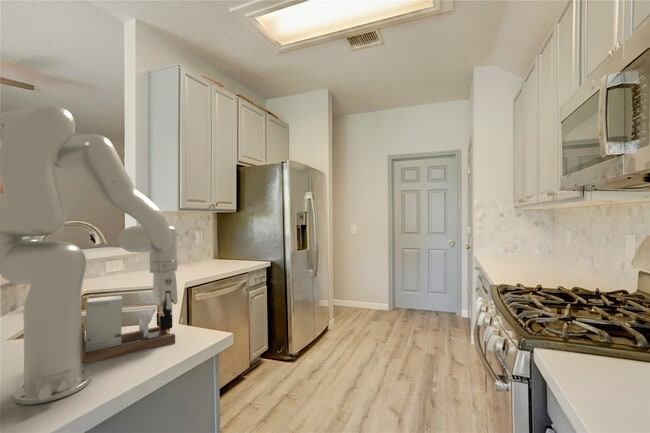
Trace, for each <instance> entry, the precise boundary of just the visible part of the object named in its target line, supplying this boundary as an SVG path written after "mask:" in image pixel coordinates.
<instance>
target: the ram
mask: <svg viewBox="0 0 650 433" xmlns="http://www.w3.org/2000/svg"><path fill="white" fill-rule="evenodd" d="M163 304H164V305H166V303H163ZM165 308H166V307H164V309H165ZM158 313H159V326H158V327H159V331H157V332H152V333H148V329H149V321H148V320H147V319H146V318H145V316H140V317H139V318H138V329H139V330H138V331H139V340H138V341H141V340H146V339H150V338H155V337H159V336H164V335H169V334H171V328H170V329H165V330H161V329H160V316H161V306H159V312H158Z"/></svg>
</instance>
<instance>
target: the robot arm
mask: <svg viewBox="0 0 650 433" xmlns="http://www.w3.org/2000/svg"><path fill="white" fill-rule="evenodd" d="M75 122H76V121H75V118H74V117H73V115H72V113H71V112H70V111H69V110H67V109H66V108H64V107H62V106H59V105H55V104H39V105H32V106H28V107H23V108H20V109H19V108H18V109H14V110H13V109H12V110H9V111H5V112H3V113H1V114H0V143H1V144H0V183H1V186H2V187H1V188H2V191H3V193H0V276H1V277H2V278H3V279H4V280H6V281H8V282H10V283H13V284H17V285H19V284H20V285H29V289H28V292H27V294H26V297H25V300H24V304H23V315H22V317H23V318H22V319H23V385H22V386H20V387H18V388H17V389H16V390H15V392H14V393H13V401H14V402H15V403H17V404H19V405H37V404H44V403H48V402H53V401H56V400H59V399H62V398H64V397H65V398H66V397H68V396H70V395H72V394H74V393H76V392H79V391H81V390H82V389H84V388H85V387H86V386H87V385H89V383H91V379H92V377H91V376H92V375H91V372H89V371H87V370H83V365H82V322H83V321H82V320H83V319H82V318H83V317H82V292H83V284H84V278H85V274H86V269H87V258H86V255H85V253H84V251H83V250H82V249H81V248H80V247H79V246H78V245H76V244H74V243H72V242H69V241H64V240H43V238H42V237H44V236H50V235H53V234H56V233H58V232H60V231H62V229H63V228H64V227H65V225H66V222H67V213H66V208H65V204H64V201H63V197H62V194H61V190H60V186H59V183H58V179H57V174H56V173H57V172H56V168H57V169H61V170H63V171H64V170H65V171H68V172H79V171H80V172H81V171H82V172H83V174H84V175H85V177H86V178H87V180H88V182H89V184H90V185H91V188H93V191H94V193H95V194H96V195H97V198H98V199H99V201H100V202H101V203H102V204H103V205H106V206H108V207H110V208H113V209H115V210H117V211H120V212H122V213H123V214H126V215H128V216H130V217H132V218H133V219H134V220H135V221H136V222H137V223H138V224H139V225H132V226H128V227H126V228H125V229H122V231H121V232H120V234H119V236H118V244H119V246H120V247H121V249H123V250H125V251H126V252H129V253H149V273H150V274H153V277H152V280H153V282H152V285H153V287H152V295H153V301H154V303H155V304H156V327H159V306H161V316H160V329H161V330H165V329H170V330H171V329H172V328H173V304H174V305H177V304H178V300H179V299H178V286H177V285H178V283H177V276H176V272H178V239H177V238H178V235H177V234H178V233H177V232H178V231H177V228H176V227H175V226H172V225H170V224H169V222H168V221H167V218H166V216H165V215H164V213H163V211H162V210H161V209H160V208H159V207H158V206H157V205H156V204H155V203H154V202H153V201H152V200H150V198H148V196H146V195H145V194H143V193H142V192H141V191H140V190H138V189H137V188H136V187H135V185H134V183H133V181H132V179H131V178H130V176H129V174H128V172H127V170H126V168H125V166H124V164H123V161H122V160H121V158H120V156H119V154H118V152H117V150H116V148H115V147H114V145H113V143H112V142H111V141H110V140H109V138H107V137H106V136H104V135H101V134H81V135H74V134H75V132H76V123H75ZM163 303H166V305H164V304H163ZM164 307H166V308H165V309H164Z"/></svg>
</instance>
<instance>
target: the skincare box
mask: <svg viewBox="0 0 650 433" xmlns="http://www.w3.org/2000/svg"><path fill="white" fill-rule="evenodd" d="M85 314H86V315H85V353H86V352H90V351H95V350H100V349H104V348H109V347H113V346H118V345H122V344H121V334H122V330H123V327H122V326H123V324H122V323H123V296H122V295H116V296H115V295H114V296H104V297H103V296H102V297H93V298H92V297H90V298H88V299H87V301H86V312H85Z"/></svg>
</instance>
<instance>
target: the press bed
mask: <svg viewBox="0 0 650 433" xmlns="http://www.w3.org/2000/svg"><path fill="white" fill-rule="evenodd" d="M84 326H85V325H84V323H83V321H82V366H84V365H88V364H92V363H96V362H100V361H106V360H109V359H114V358H118V357H123V356H126V355H130V354H134V353H139V352H143V351H146V350H147V351H148V350H151V349H155V348H160V347H165V346H169V345H173V344H176V334H175V333H170V334H169V335H164V336H159V337H155V338H150V339H146V340H141V341H139V330H136V331H131V332H124V333H121V345H118V346H113V347H109V348H104V349H100V350H95V351H90V352H86V353H85V339H86V329H85V327H84ZM157 331H159V326H156V327H155V326H154V327H150V328H149V327H148V333H152V332H157Z"/></svg>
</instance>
